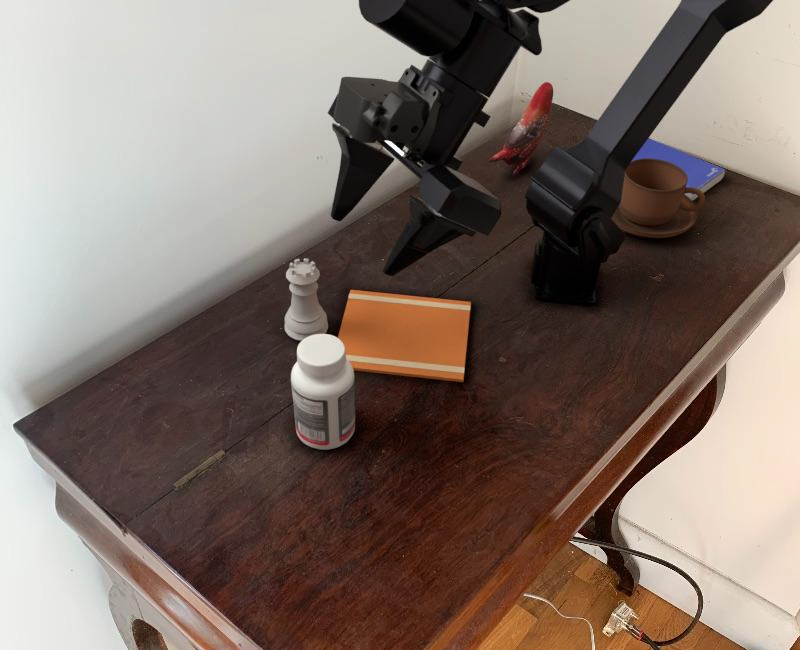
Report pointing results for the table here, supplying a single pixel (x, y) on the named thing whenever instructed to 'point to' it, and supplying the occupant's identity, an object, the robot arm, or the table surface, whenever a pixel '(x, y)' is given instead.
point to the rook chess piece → (304, 302)
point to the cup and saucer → (656, 200)
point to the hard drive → (684, 165)
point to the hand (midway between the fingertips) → (360, 245)
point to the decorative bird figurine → (527, 130)
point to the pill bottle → (323, 392)
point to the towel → (406, 335)
